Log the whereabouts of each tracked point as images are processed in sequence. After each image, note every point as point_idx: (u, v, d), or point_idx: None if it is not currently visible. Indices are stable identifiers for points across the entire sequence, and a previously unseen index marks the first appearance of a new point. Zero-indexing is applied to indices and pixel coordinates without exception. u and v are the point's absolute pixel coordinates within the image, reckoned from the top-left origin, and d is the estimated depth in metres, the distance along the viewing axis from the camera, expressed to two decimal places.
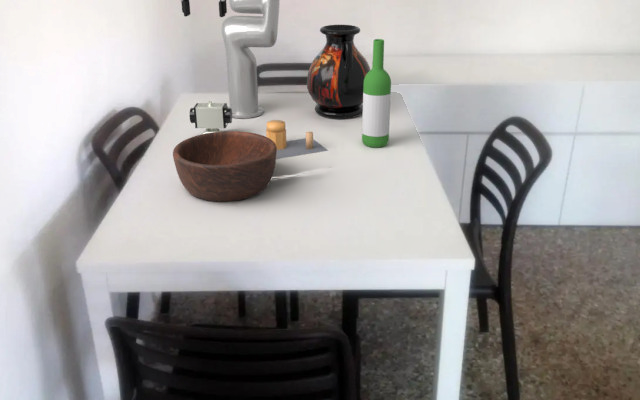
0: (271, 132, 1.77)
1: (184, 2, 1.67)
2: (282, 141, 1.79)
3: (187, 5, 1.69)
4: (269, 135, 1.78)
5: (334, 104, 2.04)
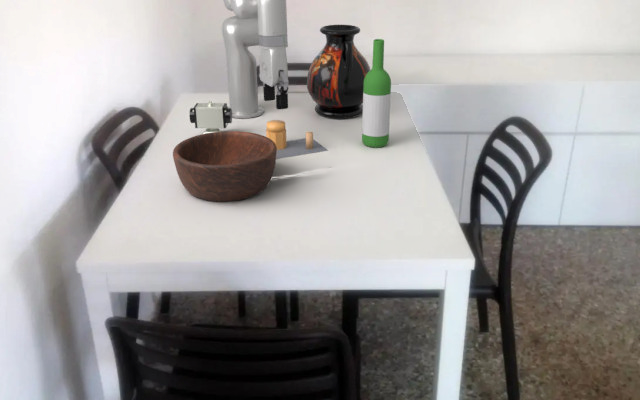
0: (271, 132, 1.77)
1: None
2: (282, 141, 1.79)
3: None
4: (269, 135, 1.78)
5: (334, 104, 2.04)
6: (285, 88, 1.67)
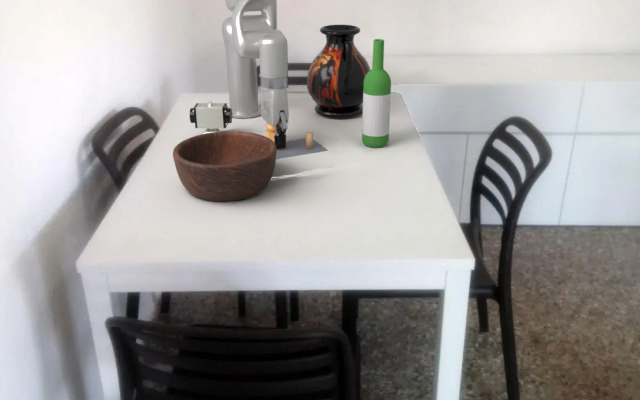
0: (271, 132, 1.77)
1: None
2: None
3: None
4: (269, 135, 1.78)
5: (334, 104, 2.04)
6: (283, 131, 1.74)
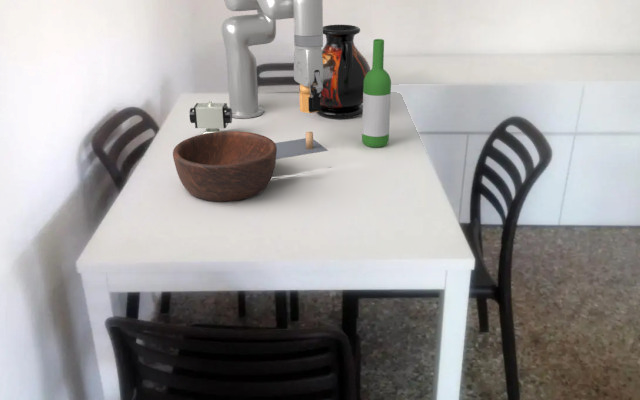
0: (305, 94, 1.71)
1: None
2: None
3: None
4: (303, 97, 1.72)
5: (334, 104, 2.04)
6: (318, 92, 1.68)
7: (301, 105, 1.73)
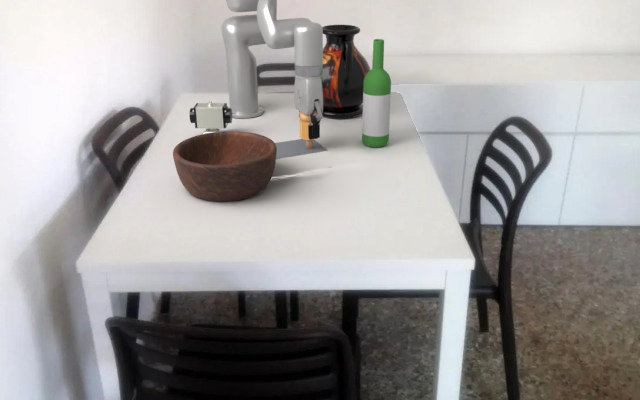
0: (305, 122, 1.74)
1: None
2: None
3: None
4: (303, 124, 1.75)
5: (334, 104, 2.04)
6: (318, 120, 1.71)
7: (301, 132, 1.77)
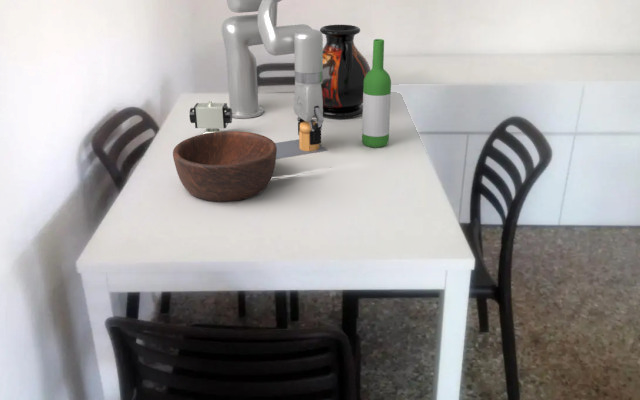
0: (304, 133, 1.76)
1: None
2: None
3: None
4: (302, 136, 1.77)
5: (334, 104, 2.04)
6: (319, 126, 1.71)
7: (301, 143, 1.78)
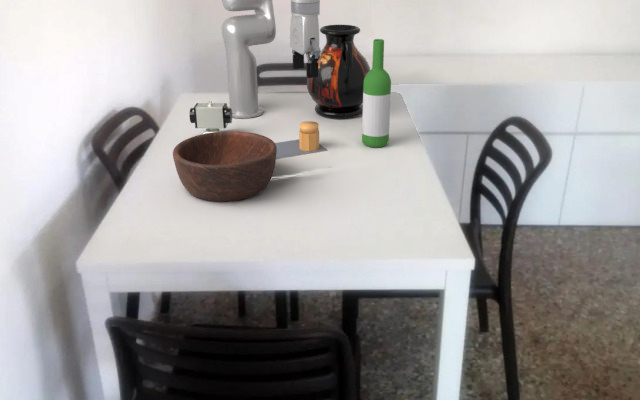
0: (304, 133, 1.76)
1: None
2: (315, 142, 1.78)
3: None
4: (302, 136, 1.77)
5: (334, 104, 2.04)
6: (316, 56, 1.66)
7: (301, 143, 1.78)
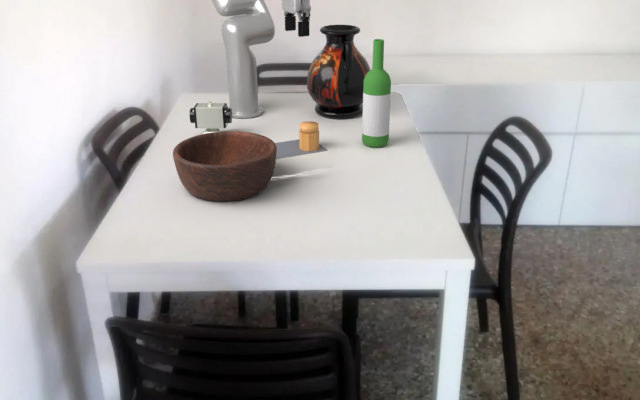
0: (304, 133, 1.76)
1: None
2: (315, 142, 1.78)
3: None
4: (302, 136, 1.77)
5: (334, 104, 2.04)
6: (307, 14, 1.73)
7: (301, 143, 1.78)
